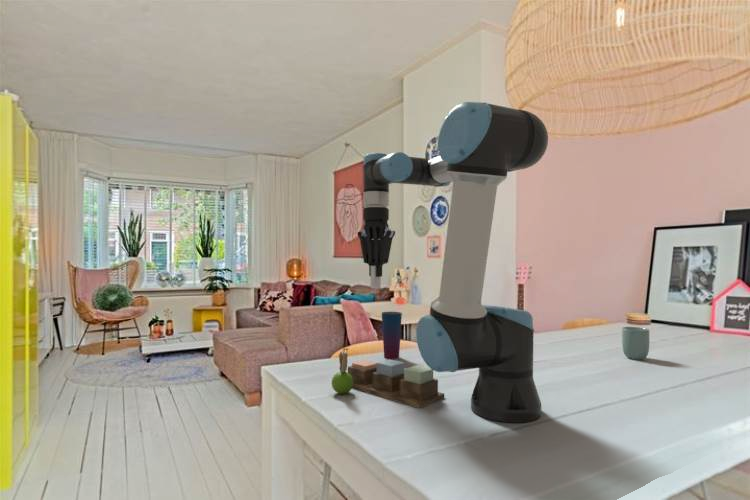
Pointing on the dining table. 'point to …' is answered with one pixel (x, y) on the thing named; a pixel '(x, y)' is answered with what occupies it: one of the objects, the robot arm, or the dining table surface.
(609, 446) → the dining table surface
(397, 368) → the slate key
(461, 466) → the dining table surface
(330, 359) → the dining table surface
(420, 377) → the sage key
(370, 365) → the terracotta key
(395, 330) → the cup
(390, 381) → the wooden socket tray
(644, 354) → the cup
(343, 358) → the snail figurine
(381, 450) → the dining table surface
